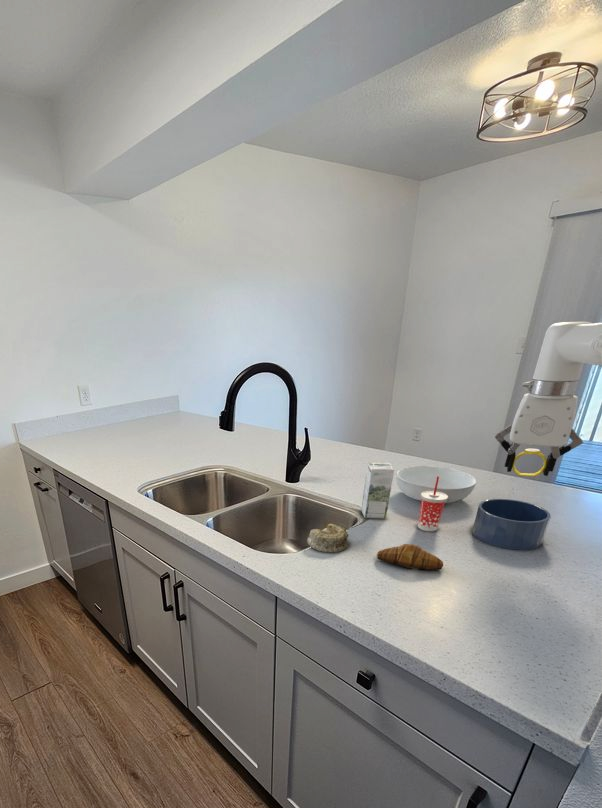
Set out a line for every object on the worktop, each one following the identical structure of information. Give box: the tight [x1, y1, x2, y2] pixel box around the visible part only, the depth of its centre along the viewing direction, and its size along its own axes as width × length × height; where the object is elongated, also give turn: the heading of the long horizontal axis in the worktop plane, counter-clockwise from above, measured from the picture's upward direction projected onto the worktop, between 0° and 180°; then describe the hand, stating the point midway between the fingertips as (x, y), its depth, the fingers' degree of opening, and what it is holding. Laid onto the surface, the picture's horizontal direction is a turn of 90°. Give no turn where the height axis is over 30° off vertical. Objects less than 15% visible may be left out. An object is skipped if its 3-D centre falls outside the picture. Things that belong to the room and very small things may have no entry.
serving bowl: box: [395, 465, 477, 504], centre depth 129 cm, size 21×21×7 cm
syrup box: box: [360, 462, 395, 520], centre depth 118 cm, size 6×6×14 cm
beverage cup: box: [417, 476, 448, 532], centre depth 110 cm, size 6×6×14 cm
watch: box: [512, 447, 547, 478], centre depth 97 cm, size 6×3×6 cm, turn 56°
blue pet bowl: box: [471, 498, 552, 551], centre depth 105 cm, size 14×14×7 cm
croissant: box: [376, 543, 444, 571], centre depth 96 cm, size 14×7×5 cm, turn 64°
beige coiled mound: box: [306, 523, 349, 553], centre depth 107 cm, size 10×10×5 cm
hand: (526, 471), depth 98 cm, fingers closed on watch, 6 cm apart
